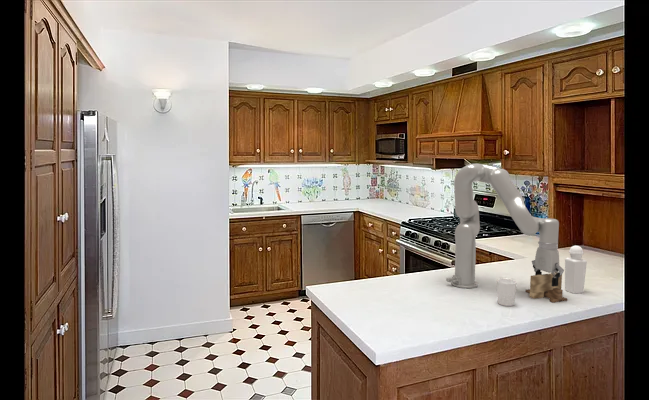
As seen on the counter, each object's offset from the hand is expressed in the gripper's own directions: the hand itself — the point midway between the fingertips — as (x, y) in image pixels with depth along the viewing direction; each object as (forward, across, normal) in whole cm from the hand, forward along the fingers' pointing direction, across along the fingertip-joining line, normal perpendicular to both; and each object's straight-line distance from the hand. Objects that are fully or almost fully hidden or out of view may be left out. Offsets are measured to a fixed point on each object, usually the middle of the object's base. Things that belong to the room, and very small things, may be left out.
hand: (546, 283), depth 199 cm
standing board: (+6, 0, 0) cm, 6 cm away
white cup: (+6, +2, -24) cm, 25 cm away
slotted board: (+6, 0, 0) cm, 6 cm away
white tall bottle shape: (+6, -1, +18) cm, 19 cm away
